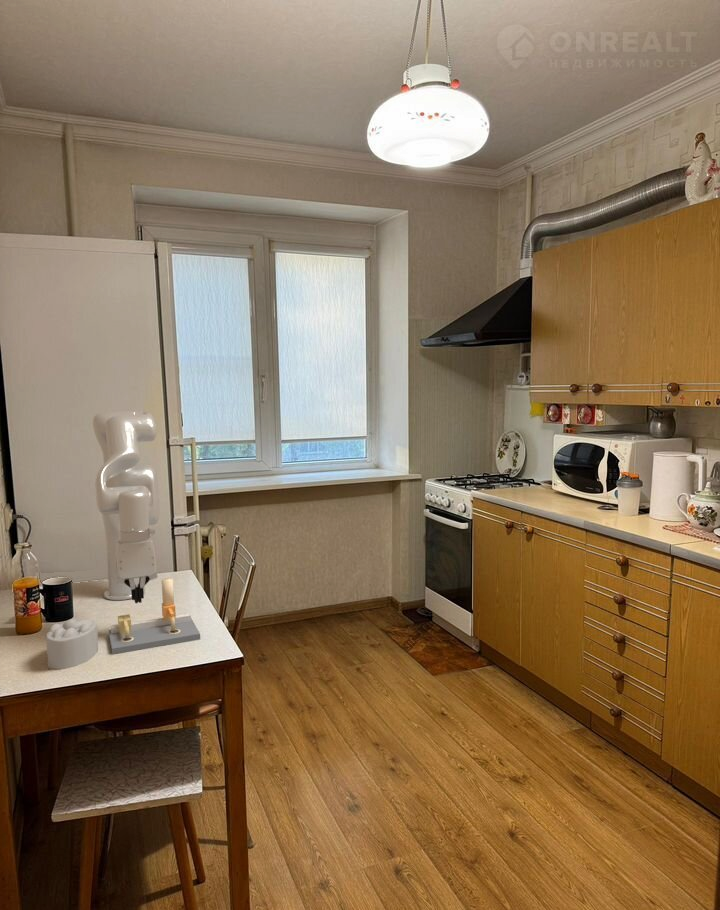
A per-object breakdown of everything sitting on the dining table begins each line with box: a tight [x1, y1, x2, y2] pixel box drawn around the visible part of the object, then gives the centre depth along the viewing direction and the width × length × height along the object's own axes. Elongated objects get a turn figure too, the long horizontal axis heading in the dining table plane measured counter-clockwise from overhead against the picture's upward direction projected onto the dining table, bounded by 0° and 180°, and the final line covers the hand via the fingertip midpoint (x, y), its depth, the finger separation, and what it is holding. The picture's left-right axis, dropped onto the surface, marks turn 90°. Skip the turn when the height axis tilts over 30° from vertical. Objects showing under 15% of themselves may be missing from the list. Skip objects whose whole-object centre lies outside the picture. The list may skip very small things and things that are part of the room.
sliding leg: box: [161, 577, 177, 631], centre depth 173 cm, size 10×3×12 cm, turn 25°
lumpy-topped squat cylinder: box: [45, 618, 99, 670], centre depth 157 cm, size 10×13×9 cm
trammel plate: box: [108, 613, 201, 655], centre depth 170 cm, size 14×22×5 cm, turn 115°
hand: (137, 601), depth 172 cm, fingers closed
